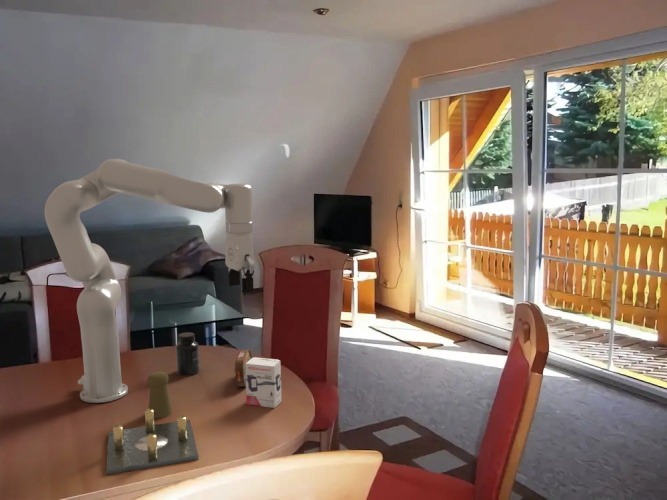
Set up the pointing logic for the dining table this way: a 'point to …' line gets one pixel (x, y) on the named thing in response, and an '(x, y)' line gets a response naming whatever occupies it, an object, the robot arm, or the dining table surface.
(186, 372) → the supplement bottle
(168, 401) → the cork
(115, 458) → the chassis plate
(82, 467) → the dining table surface
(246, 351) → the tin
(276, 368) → the ink box
